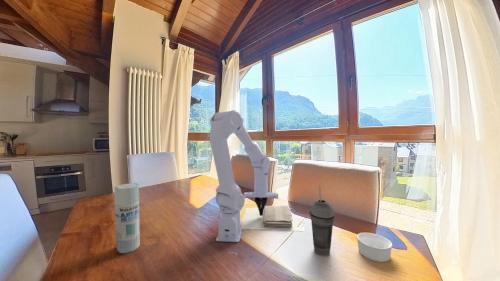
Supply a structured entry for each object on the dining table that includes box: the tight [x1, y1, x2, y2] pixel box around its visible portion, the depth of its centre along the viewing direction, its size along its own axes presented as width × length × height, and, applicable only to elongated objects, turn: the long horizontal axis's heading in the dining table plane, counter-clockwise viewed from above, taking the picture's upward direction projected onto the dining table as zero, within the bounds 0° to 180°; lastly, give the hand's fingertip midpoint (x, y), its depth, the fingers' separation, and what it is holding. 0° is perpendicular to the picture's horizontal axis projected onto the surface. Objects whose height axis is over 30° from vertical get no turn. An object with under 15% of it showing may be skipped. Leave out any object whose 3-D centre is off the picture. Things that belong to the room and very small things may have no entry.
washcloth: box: [263, 205, 293, 227], centre depth 82 cm, size 12×18×3 cm, turn 176°
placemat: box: [240, 207, 305, 232], centre depth 83 cm, size 21×24×1 cm
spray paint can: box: [113, 182, 141, 254], centre depth 61 cm, size 6×6×20 cm
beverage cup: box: [309, 184, 336, 257], centre depth 58 cm, size 7×7×20 cm
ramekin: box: [356, 232, 393, 263], centre depth 57 cm, size 9×9×4 cm
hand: (261, 214), depth 83 cm, fingers closed
